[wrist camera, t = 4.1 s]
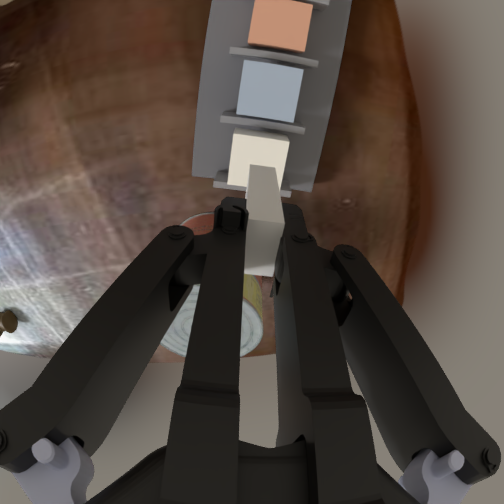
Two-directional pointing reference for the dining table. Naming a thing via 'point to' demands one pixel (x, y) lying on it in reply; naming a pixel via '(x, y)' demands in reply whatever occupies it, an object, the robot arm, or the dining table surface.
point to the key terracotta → (280, 25)
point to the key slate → (269, 91)
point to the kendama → (8, 322)
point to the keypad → (237, 50)
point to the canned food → (182, 323)
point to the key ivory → (256, 154)
